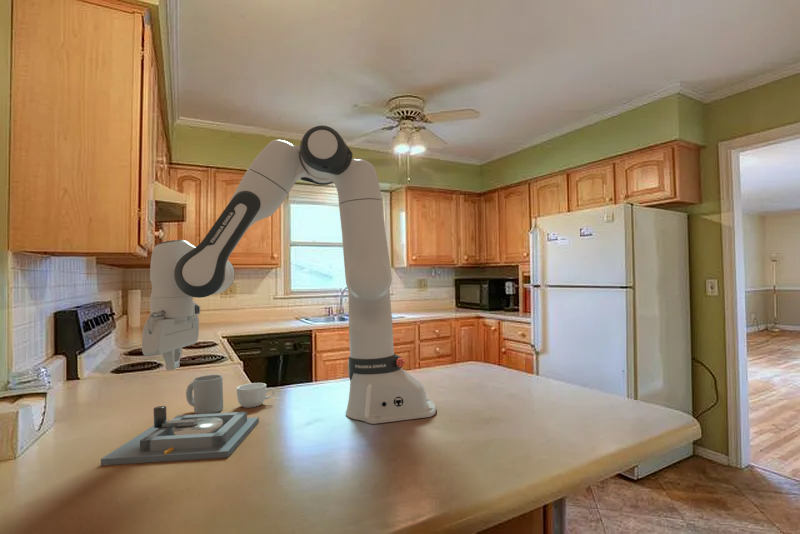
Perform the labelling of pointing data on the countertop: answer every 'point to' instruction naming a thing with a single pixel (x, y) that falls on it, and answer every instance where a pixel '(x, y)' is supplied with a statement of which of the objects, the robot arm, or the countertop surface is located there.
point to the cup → (206, 394)
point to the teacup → (252, 394)
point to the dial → (186, 423)
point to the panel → (175, 455)
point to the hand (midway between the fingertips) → (172, 369)
